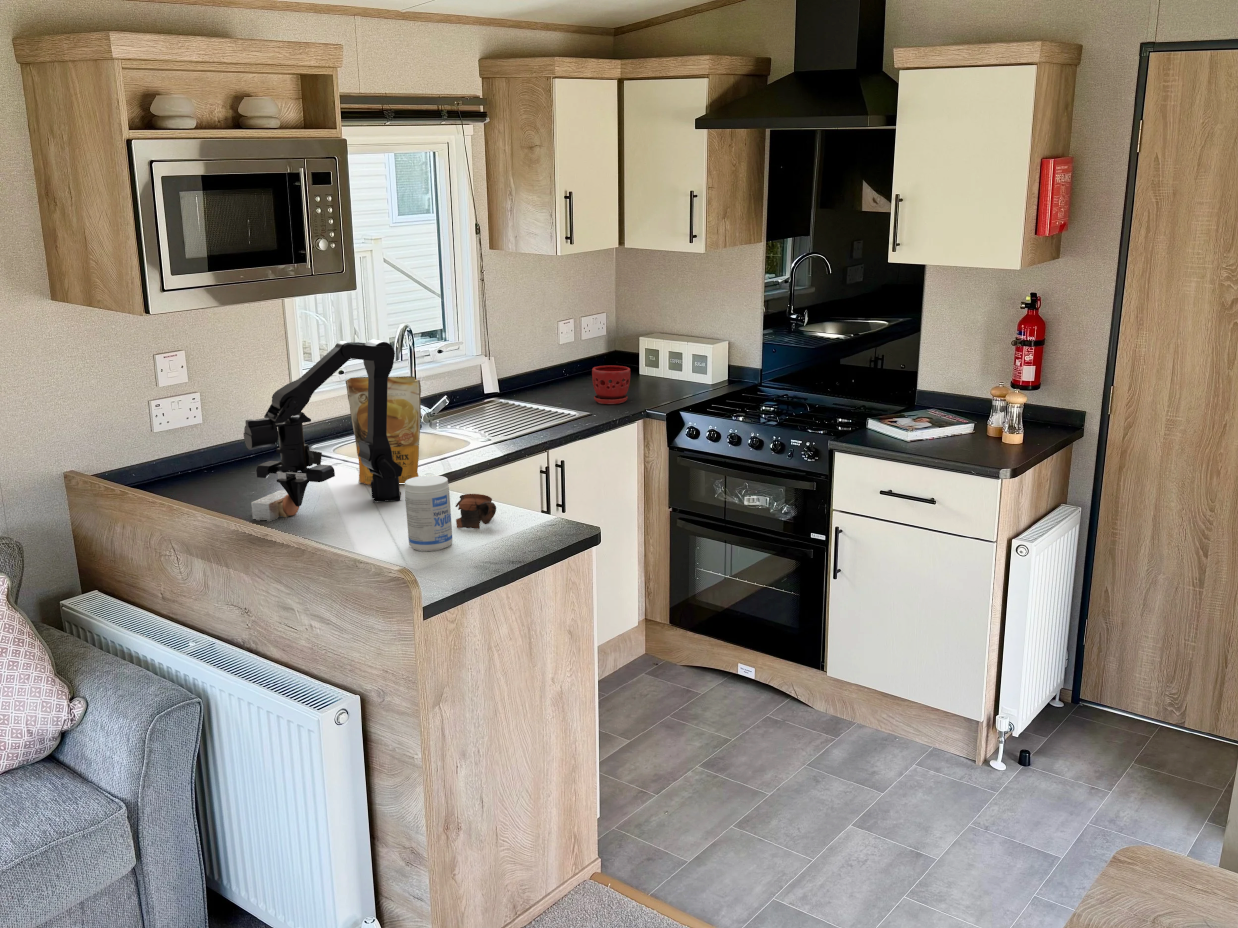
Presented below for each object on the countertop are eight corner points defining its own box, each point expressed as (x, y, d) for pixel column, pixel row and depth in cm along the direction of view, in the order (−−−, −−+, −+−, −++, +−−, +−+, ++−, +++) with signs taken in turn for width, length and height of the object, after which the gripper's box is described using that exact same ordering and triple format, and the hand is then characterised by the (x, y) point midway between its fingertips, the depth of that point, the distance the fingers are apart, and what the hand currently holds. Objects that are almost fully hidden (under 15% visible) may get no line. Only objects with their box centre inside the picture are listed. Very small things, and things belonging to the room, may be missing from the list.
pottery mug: (444, 529, 262) (448, 494, 264) (474, 537, 269) (477, 503, 271) (481, 524, 254) (484, 488, 257) (511, 532, 261) (514, 497, 264)
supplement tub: (445, 553, 244) (440, 486, 240) (402, 552, 245) (397, 486, 242) (458, 538, 253) (454, 474, 249) (417, 537, 255) (412, 474, 251)
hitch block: (299, 508, 280) (297, 491, 279) (270, 521, 270) (268, 504, 269) (282, 506, 282) (280, 490, 281) (253, 519, 272) (251, 502, 271)
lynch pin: (300, 512, 276) (298, 491, 275) (287, 518, 272) (284, 497, 270) (266, 509, 280) (264, 488, 279) (253, 515, 275) (250, 494, 274)
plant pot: (610, 407, 385) (609, 372, 382) (585, 402, 394) (584, 368, 391) (639, 401, 393) (638, 367, 390) (613, 396, 403) (612, 363, 400)
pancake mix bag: (358, 478, 305) (348, 375, 298) (428, 478, 304) (420, 374, 297) (351, 485, 299) (341, 380, 292) (422, 484, 297) (414, 379, 290)
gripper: (345, 436, 273) (351, 499, 277) (280, 433, 279) (287, 494, 283) (317, 447, 263) (324, 512, 267) (250, 443, 269) (258, 506, 273)
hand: (298, 506), depth 273 cm, fingers closed
